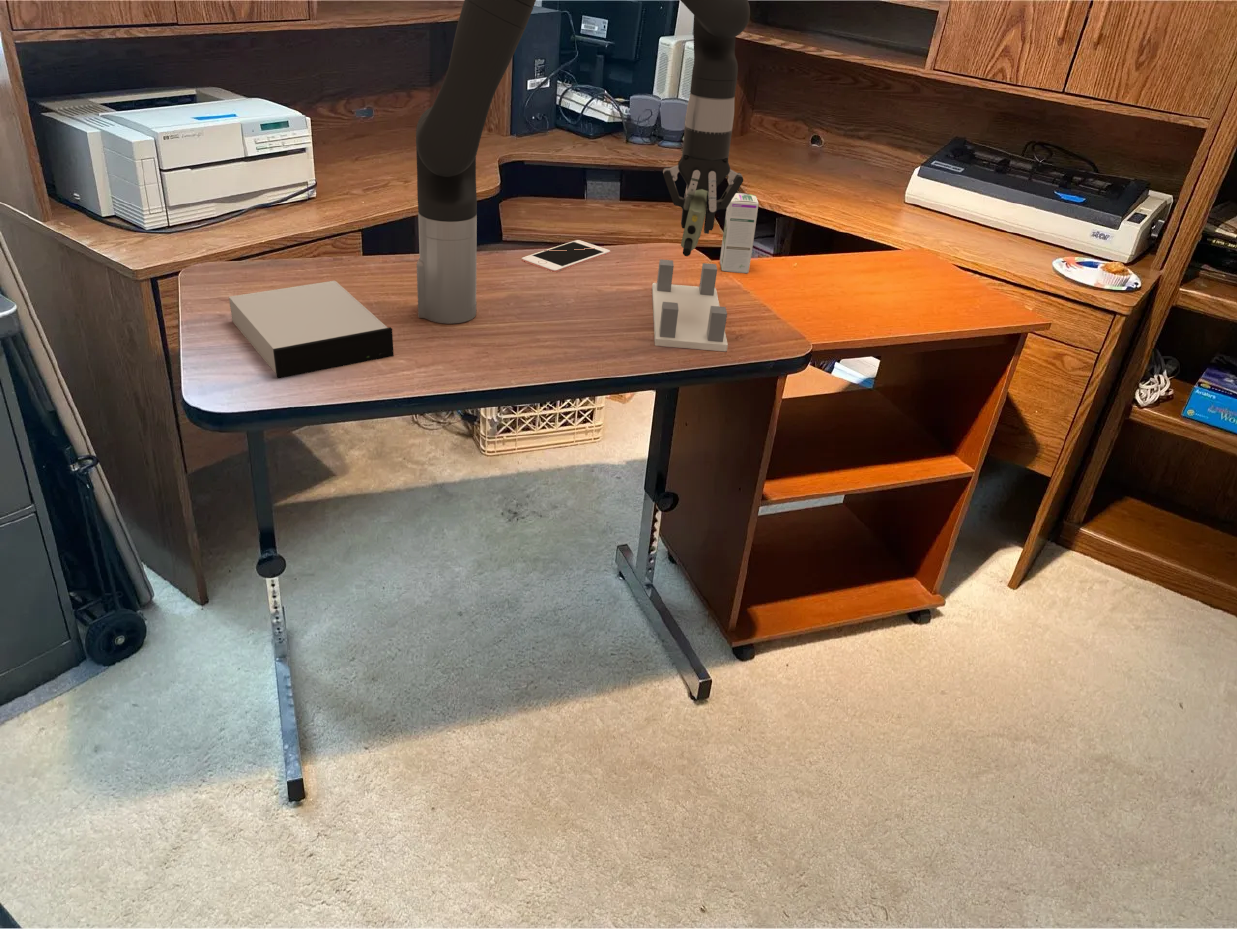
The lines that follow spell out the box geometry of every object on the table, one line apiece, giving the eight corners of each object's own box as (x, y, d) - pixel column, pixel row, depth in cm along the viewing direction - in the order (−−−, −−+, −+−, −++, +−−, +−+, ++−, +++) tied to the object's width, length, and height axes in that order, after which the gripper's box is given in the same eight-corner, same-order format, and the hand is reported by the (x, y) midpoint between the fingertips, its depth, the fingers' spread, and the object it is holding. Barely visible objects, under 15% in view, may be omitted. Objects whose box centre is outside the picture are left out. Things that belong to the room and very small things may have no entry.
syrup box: (749, 273, 187) (761, 202, 179) (720, 271, 187) (730, 199, 179) (746, 264, 192) (757, 194, 184) (717, 261, 192) (728, 191, 184)
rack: (654, 345, 153) (658, 310, 150) (652, 288, 175) (655, 257, 172) (726, 351, 153) (732, 316, 150) (714, 294, 175) (719, 262, 172)
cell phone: (520, 262, 182) (520, 257, 182) (577, 243, 195) (578, 239, 195) (554, 274, 178) (555, 270, 178) (611, 254, 191) (611, 250, 190)
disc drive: (278, 382, 132) (274, 350, 130) (231, 324, 147) (226, 294, 145) (394, 359, 142) (392, 329, 139) (338, 307, 157) (336, 278, 154)
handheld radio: (702, 218, 167) (695, 262, 146) (684, 214, 167) (675, 258, 146) (711, 181, 164) (705, 221, 143) (692, 177, 164) (684, 217, 143)
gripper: (665, 126, 144) (655, 235, 153) (755, 133, 144) (739, 241, 153) (664, 116, 150) (654, 221, 159) (749, 123, 150) (735, 227, 159)
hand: (696, 231), depth 156 cm, fingers closed on handheld radio, 2 cm apart
